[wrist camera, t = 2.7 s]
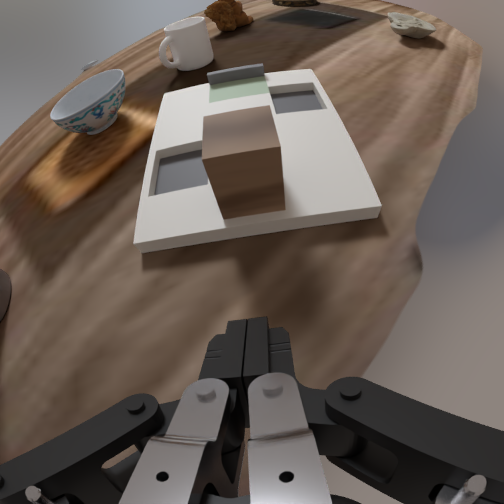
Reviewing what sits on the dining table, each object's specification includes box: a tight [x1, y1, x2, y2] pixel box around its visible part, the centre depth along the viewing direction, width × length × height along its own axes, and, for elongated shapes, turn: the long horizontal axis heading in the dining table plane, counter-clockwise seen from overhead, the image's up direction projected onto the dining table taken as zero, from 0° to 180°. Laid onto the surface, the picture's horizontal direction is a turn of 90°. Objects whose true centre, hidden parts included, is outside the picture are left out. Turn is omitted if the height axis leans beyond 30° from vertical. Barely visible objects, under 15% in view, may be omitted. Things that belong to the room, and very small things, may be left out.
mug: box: [159, 17, 213, 71], centre depth 48 cm, size 12×8×10 cm
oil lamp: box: [388, 12, 436, 39], centre depth 53 cm, size 21×14×5 cm
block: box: [202, 105, 286, 220], centre depth 26 cm, size 6×6×8 cm
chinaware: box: [50, 69, 125, 135], centre depth 43 cm, size 15×15×8 cm
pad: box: [209, 76, 270, 103], centre depth 42 cm, size 7×9×2 cm
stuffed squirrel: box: [204, 0, 253, 31], centre depth 59 cm, size 10×14×13 cm
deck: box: [133, 64, 382, 253], centre depth 35 cm, size 30×25×4 cm
